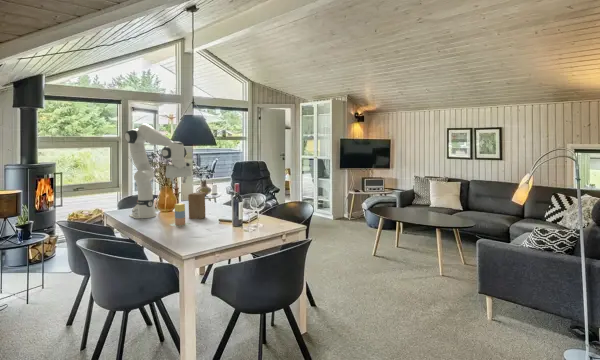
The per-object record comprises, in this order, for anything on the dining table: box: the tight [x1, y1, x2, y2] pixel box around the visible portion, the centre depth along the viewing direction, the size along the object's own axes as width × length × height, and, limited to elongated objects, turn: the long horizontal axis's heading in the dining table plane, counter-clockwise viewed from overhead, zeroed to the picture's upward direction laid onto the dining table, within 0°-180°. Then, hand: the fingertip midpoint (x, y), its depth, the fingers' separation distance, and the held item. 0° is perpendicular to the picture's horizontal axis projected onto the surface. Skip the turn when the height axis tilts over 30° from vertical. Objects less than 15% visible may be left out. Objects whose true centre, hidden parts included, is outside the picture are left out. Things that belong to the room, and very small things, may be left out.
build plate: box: [169, 222, 192, 228], centre depth 272 cm, size 12×12×1 cm
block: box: [187, 192, 206, 220], centre depth 296 cm, size 10×10×20 cm
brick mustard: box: [174, 202, 186, 212], centre depth 271 cm, size 5×5×5 cm
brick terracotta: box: [174, 217, 186, 225], centre depth 272 cm, size 5×5×5 cm
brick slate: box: [174, 210, 186, 219], centre depth 271 cm, size 5×5×5 cm
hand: (178, 183), depth 269 cm, fingers open, 8 cm apart
